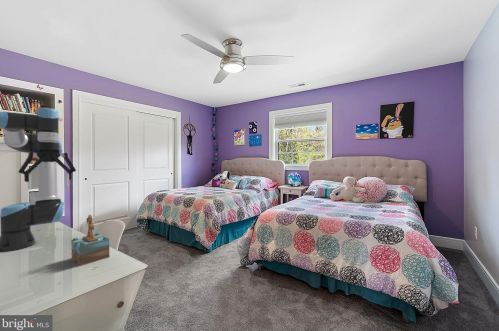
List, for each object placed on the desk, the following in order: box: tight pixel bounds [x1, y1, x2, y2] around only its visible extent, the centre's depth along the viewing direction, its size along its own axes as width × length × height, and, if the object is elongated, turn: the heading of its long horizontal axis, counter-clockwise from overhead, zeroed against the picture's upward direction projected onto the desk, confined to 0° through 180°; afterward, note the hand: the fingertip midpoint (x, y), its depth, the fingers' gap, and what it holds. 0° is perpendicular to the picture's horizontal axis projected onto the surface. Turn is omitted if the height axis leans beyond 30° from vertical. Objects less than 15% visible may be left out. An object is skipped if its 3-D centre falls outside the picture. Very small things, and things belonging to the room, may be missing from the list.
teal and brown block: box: [71, 232, 110, 266], centre depth 115 cm, size 12×12×10 cm
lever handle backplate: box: [82, 214, 98, 242], centre depth 114 cm, size 9×4×12 cm, turn 51°
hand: (49, 187), depth 110 cm, fingers open, 13 cm apart
